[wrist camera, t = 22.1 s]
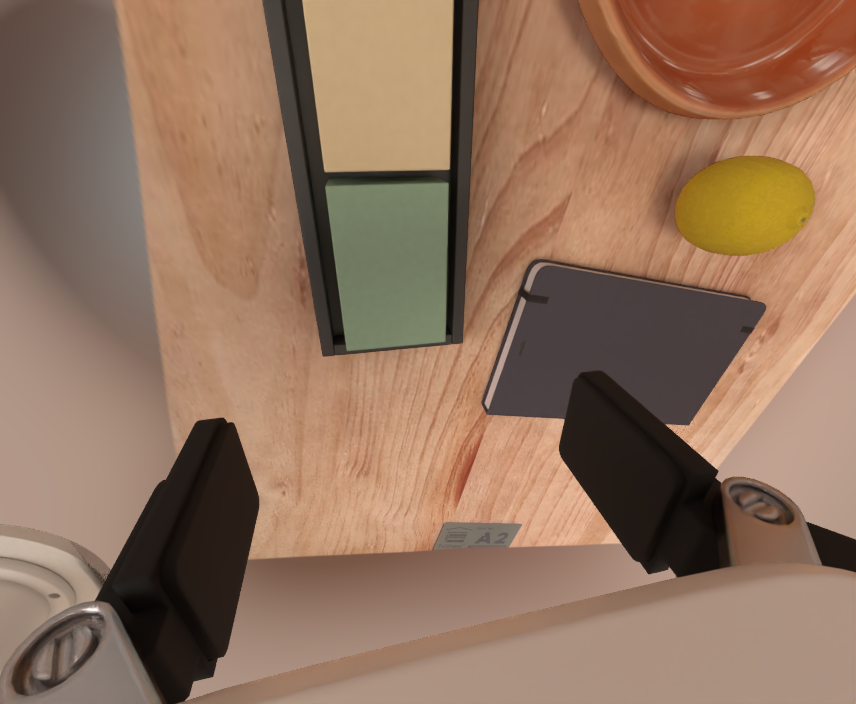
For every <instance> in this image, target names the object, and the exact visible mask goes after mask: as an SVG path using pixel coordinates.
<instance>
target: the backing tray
mask: <svg viewBox="0 0 856 704" xmlns="http://www.w3.org/2000/svg"><path fill="white" fill-rule="evenodd" d="M478 5H479V0H454V9H453V55H452V101H451V147H450V169H449V170H420V171H371V172H325V171H324V164H323V157H322V149H321V141H320V134H319V126H318V118H317V110H316V103H315V95H314V87H313V79H312V72H311V64H310V56H309V49H308V41H307V33H306V25H305V18H304V10H303V2H302V0H263V6H264V12H265V18H266V24H267V30H268V36H269V42H270V48H271V54H272V59H273V65H274V71H275V77H276V83H277V89H278V95H279V101H280V107H281V113H282V119H283V124H284V130H285V136H286V142H287V148H288V154H289V160H290V166H291V172H292V178H293V184H294V189H295V195H296V201H297V207H298V213H299V219H300V225H301V231H302V237H303V243H304V249H305V254H306V260H307V266H308V272H309V278H310V284H311V290H312V296H313V302H314V308H315V314H316V320H317V325H318V331H319V337H320V343H321V349H322V355H323V356H324V357H325V356H334V355H345V354H356V353H366V352H376V351H387V350H397V349H408V348H418V347H428V346H439V345H449V344H459V343H463V325H464V304H465V283H466V261H467V240H468V219H469V197H470V176H471V154H472V133H473V112H474V90H475V69H476V48H477V26H478ZM401 176H434V177H436V178H438V179H441V180H443V181H445V182H447V183H449V198H448V247H447V295H446V341H445V342H439V343H428V344H418V345H407V346H397V347H386V348H376V349H365V350H355V351H347V349H346V342H345V334H344V326H343V319H342V311H341V303H340V296H339V288H338V281H337V273H336V265H335V258H334V250H333V242H332V235H331V227H330V219H329V212H328V204H327V197H326V189H325V187H326V184H327V182H328V180H329V178H357V177H401Z"/></svg>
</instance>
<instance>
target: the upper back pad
mask: <svg viewBox="0 0 856 704" xmlns="http://www.w3.org/2000/svg"><path fill="white" fill-rule="evenodd" d="M302 2H303V10H304V18H305V25H306V33H307V41H308V49H309V56H310V64H311V72H312V79H313V87H314V95H315V103H316V110H317V118H318V126H319V134H320V141H321V149H322V157H323V164H324V171H325V172H371V171H420V170H449V169H450V147H451V101H452V55H453V9H454V0H302Z"/></svg>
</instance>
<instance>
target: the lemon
mask: <svg viewBox="0 0 856 704" xmlns="http://www.w3.org/2000/svg"><path fill="white" fill-rule="evenodd" d="M814 201H815V192H814V189H813V185H812V183H811V181H810V179H809V178H808V177H807V176H806V174H805V173H804V172H803V171H802V170H800V169H799V168H797V167H795V166H793V165H791V164H789V163H787V162H784V161H782V160H779V159H775V158H771V157H764V156H739V157H733V158H730V159H726V160H722V161H718V162H716V163H714V164H712V165H710V166H708V167H706V168H704V169H703V170H701V171H700V172H699V173H697V174H696V175H695V176H694V177H693V178H691V179H690V180H689V182H688V183H687V184H686V185H685V186H684V188H683V189H682V191H681V193H680V194H679V197H678V199H677V202H676V206H675V222H676V225H677V227H678V230H679V231H680V233H681V234H682V235H683V236H684V238H685V239H686V240H687V241H689V242H690V243H692V244H693V245H695V246H697V247H699V248H701V249H703V250H705V251H708V252H712V253H717V254H724V255H733V256H744V255H752V254H758V253H763V252H766V251H769V250H771V249H774V248H776V247H778V246H780V245H782V244H783V243H785V242H787V241H788V240H790V239H791V238H792V237H793V236H795V235H796V234H797V233H798V232H799V231H800V230H801V229H802V227H803V226H804V225H805V224H806V222H807V221H808V219H809V217H810V215H811V213H812V210H813V207H814Z"/></svg>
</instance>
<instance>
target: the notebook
mask: <svg viewBox="0 0 856 704" xmlns="http://www.w3.org/2000/svg"><path fill="white" fill-rule="evenodd" d="M765 310H766V305H765V304H764V303H762V302H758V301H752V300H751V299H750V298H749V297H747V296H743V295H737V294H732V293H726V292H720V291H715V290H709V289H704V288H698V287H692V286H687V285H681V284H676V283H670V282H664V281H659V280H653V279H648V278H642V277H636V276H631V275H625V274H620V273H614V272H608V271H603V270H597V269H592V268H586V267H580V266H575V265H569V264H564V263H558V262H552V261H547V260H536V261H534V262H532V263H531V264H530V265H529V267H528V269H527V271H526V274H525V277H524V280H523V283H522V286H521V288H520V291H519V295H518V298H517V301H516V304H515V306H514V309H513V312H512V315H511V318H510V321H509V324H508V327H507V330H506V333H505V336H504V339H503V342H502V345H501V348H500V351H499V354H498V357H497V359H496V362H495V365H494V368H493V371H492V374H491V377H490V380H489V383H488V386H487V389H486V392H485V395H484V398H483V401H482V405H483V407H484V409H485V411H486V413H487V415H504V416H523V417H541V418H560V419H565V417H566V412H567V407H568V403H569V398H570V394H571V389H572V384H573V381H574V379H575V378H578V375H579V374H580V373H582V372H588V371H596V370H602V371H603V372H605V373H606V374H607V375H608V376H609V377H611V378H612V379H613V380H614V381H615V382H616V383H617V384H619V385H620V386H621V387H622V388H623V389H624V390H626V391H627V392H628V393H629V394H630V395H631V396H632V397H634V398H635V399H636V400H637V401H638V402H639V403H641V404H642V405H643V406H644V407H645V408H646V409H647V410H649V411H650V412H651V413H652V414H653V415H654V416H656V417H657V418H658V419H659V420H660V421H661V422H662V423H664V424H674V425H689V424H690V422H691V421H692V420H693V418H694V417H695V415H696V414H697V412H698V411H699V409H700V408H701V406H702V405H703V403H704V402H705V400H706V399H707V397H708V396H709V394H710V393H711V391H712V390H713V388H714V387H715V385H716V384H717V382H718V381H719V379H720V378H721V376H722V375H723V373H724V372H725V371H726V369H727V368H728V366H729V365H730V363H731V362H732V360H733V359H734V357H735V356H736V354H737V353H738V351H739V350H740V348H741V347H742V345H743V344H744V342H745V341H746V339H747V338H748V336H749V335H750V333H752V331H753V330H754V327H755V326H756V325H757V323H758V322H759V320H760V319H761V317H762V316H763V314H764V312H765Z"/></svg>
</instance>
